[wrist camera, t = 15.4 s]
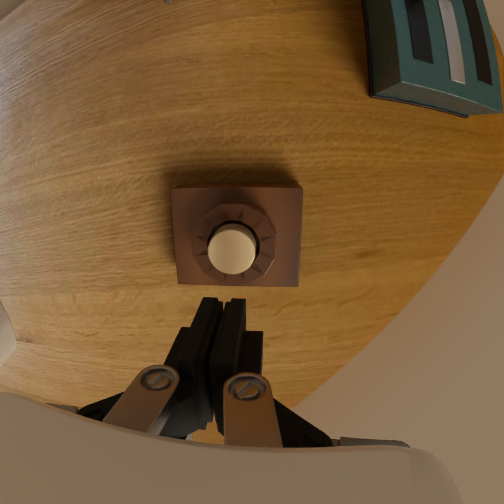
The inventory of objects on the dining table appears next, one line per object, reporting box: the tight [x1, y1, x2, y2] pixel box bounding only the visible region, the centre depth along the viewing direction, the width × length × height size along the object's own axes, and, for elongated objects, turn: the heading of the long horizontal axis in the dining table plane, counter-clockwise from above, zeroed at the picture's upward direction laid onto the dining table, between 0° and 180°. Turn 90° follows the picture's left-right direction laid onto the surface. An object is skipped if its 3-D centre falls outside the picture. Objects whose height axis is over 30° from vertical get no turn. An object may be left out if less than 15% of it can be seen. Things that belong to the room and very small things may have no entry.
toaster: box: [361, 0, 503, 118], centre depth 15 cm, size 10×14×6 cm
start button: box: [208, 223, 256, 274], centre depth 21 cm, size 3×3×2 cm
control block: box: [171, 184, 303, 287], centre depth 23 cm, size 10×8×4 cm
